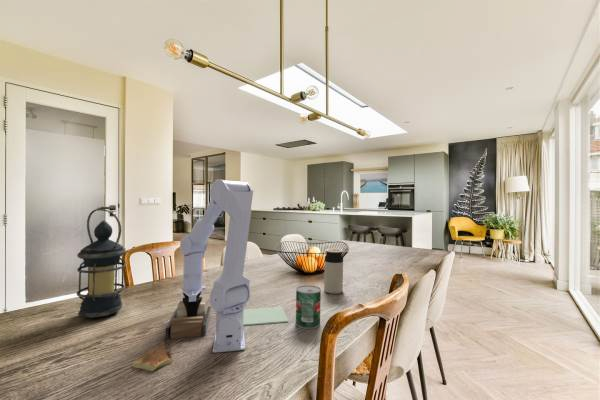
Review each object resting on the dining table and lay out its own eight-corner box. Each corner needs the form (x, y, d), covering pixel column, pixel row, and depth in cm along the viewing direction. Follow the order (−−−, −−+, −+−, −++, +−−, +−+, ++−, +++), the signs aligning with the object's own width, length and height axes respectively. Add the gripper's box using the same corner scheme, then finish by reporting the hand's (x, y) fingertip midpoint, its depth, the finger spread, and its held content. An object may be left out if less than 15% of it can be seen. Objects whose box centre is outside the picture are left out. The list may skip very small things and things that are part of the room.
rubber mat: (288, 322, 88) (288, 320, 88) (223, 327, 83) (223, 325, 83) (282, 307, 100) (282, 306, 100) (225, 311, 95) (225, 310, 95)
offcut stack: (201, 335, 78) (202, 320, 78) (169, 338, 76) (170, 322, 76) (203, 328, 82) (203, 313, 82) (173, 331, 80) (173, 315, 80)
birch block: (204, 323, 86) (204, 303, 86) (176, 325, 84) (177, 305, 84) (205, 317, 90) (206, 299, 90) (179, 319, 88) (179, 301, 88)
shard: (165, 345, 73) (165, 338, 73) (190, 350, 71) (190, 343, 71) (130, 369, 63) (131, 361, 63) (158, 375, 61) (158, 367, 61)
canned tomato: (292, 320, 90) (292, 286, 90) (314, 316, 92) (314, 284, 92) (300, 330, 82) (301, 294, 82) (324, 327, 85) (325, 291, 85)
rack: (205, 335, 78) (205, 325, 78) (165, 339, 76) (165, 328, 76) (210, 315, 92) (210, 306, 92) (176, 317, 89) (176, 308, 89)
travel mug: (345, 293, 118) (346, 251, 118) (329, 295, 115) (330, 252, 115) (336, 287, 125) (337, 248, 125) (321, 289, 122) (321, 248, 122)
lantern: (135, 309, 96) (137, 208, 96) (98, 325, 83) (101, 209, 83) (103, 304, 99) (106, 207, 100) (63, 319, 87) (66, 208, 87)
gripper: (207, 278, 82) (206, 324, 82) (205, 267, 95) (204, 307, 95) (181, 280, 79) (180, 328, 79) (183, 269, 93) (182, 309, 93)
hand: (191, 316), depth 87 cm, fingers closed on birch block, 4 cm apart
